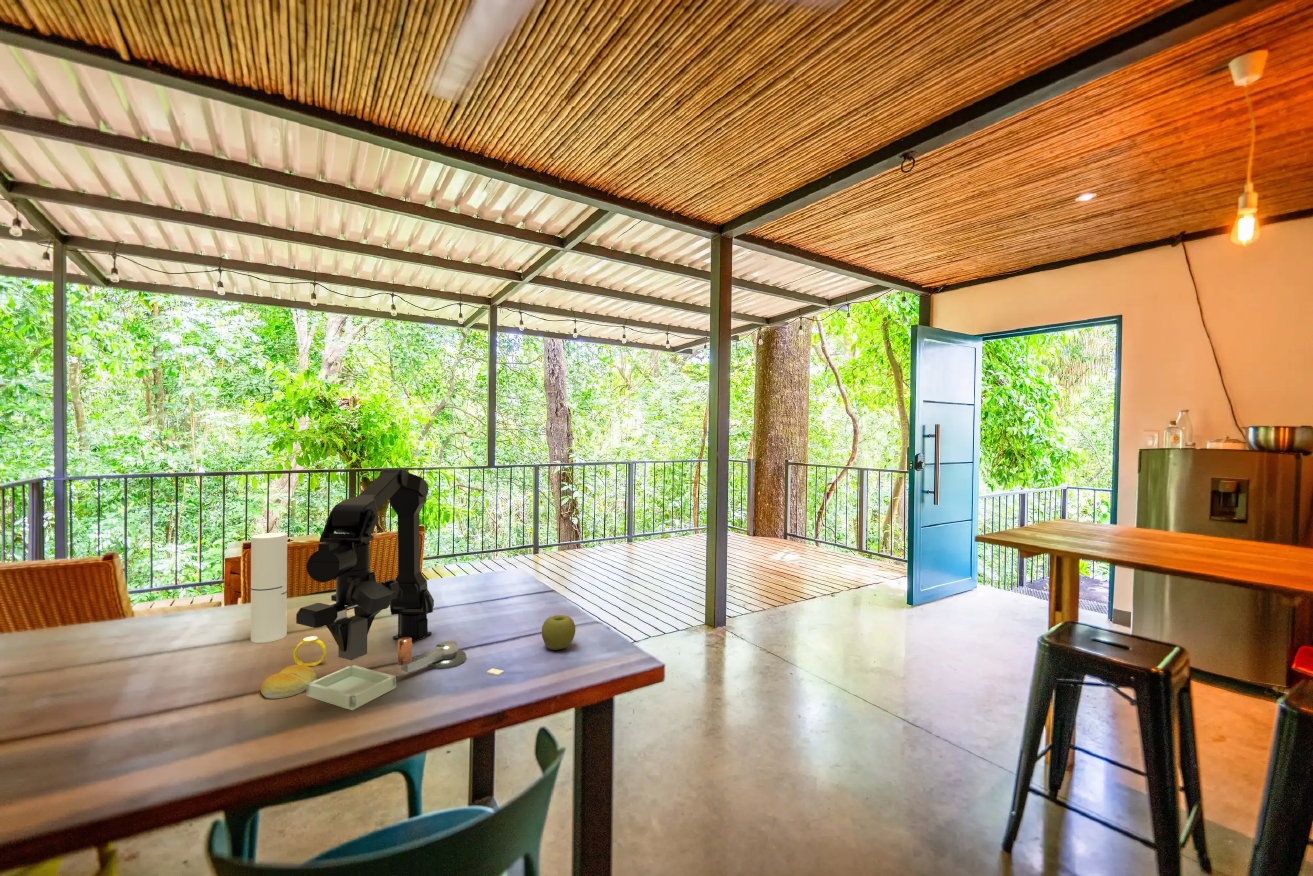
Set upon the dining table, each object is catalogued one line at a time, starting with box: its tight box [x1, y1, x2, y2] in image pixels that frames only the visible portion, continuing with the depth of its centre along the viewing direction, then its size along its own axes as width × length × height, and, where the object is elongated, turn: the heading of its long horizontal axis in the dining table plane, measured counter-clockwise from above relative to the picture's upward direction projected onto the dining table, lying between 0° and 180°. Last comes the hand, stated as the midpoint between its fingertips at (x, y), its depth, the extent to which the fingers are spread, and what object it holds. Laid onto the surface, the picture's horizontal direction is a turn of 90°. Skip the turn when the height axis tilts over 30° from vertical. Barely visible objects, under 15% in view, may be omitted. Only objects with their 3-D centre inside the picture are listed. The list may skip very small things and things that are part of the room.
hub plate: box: [427, 649, 467, 670], centre depth 121 cm, size 8×8×1 cm
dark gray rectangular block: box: [337, 615, 368, 661], centre depth 106 cm, size 4×4×7 cm
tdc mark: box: [486, 667, 505, 677], centre depth 115 cm, size 3×2×1 cm, turn 67°
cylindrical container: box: [250, 532, 288, 644], centre depth 132 cm, size 7×7×25 cm
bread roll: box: [260, 664, 318, 700], centre depth 107 cm, size 8×9×4 cm
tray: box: [305, 664, 397, 711], centre depth 106 cm, size 10×13×2 cm
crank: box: [397, 637, 458, 673], centre depth 117 cm, size 14×4×7 cm, turn 147°
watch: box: [292, 635, 328, 667], centre depth 118 cm, size 6×3×6 cm, turn 106°
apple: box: [541, 614, 576, 651], centre depth 129 cm, size 8×8×7 cm
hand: (352, 647), depth 106 cm, fingers closed on dark gray rectangular block, 3 cm apart
